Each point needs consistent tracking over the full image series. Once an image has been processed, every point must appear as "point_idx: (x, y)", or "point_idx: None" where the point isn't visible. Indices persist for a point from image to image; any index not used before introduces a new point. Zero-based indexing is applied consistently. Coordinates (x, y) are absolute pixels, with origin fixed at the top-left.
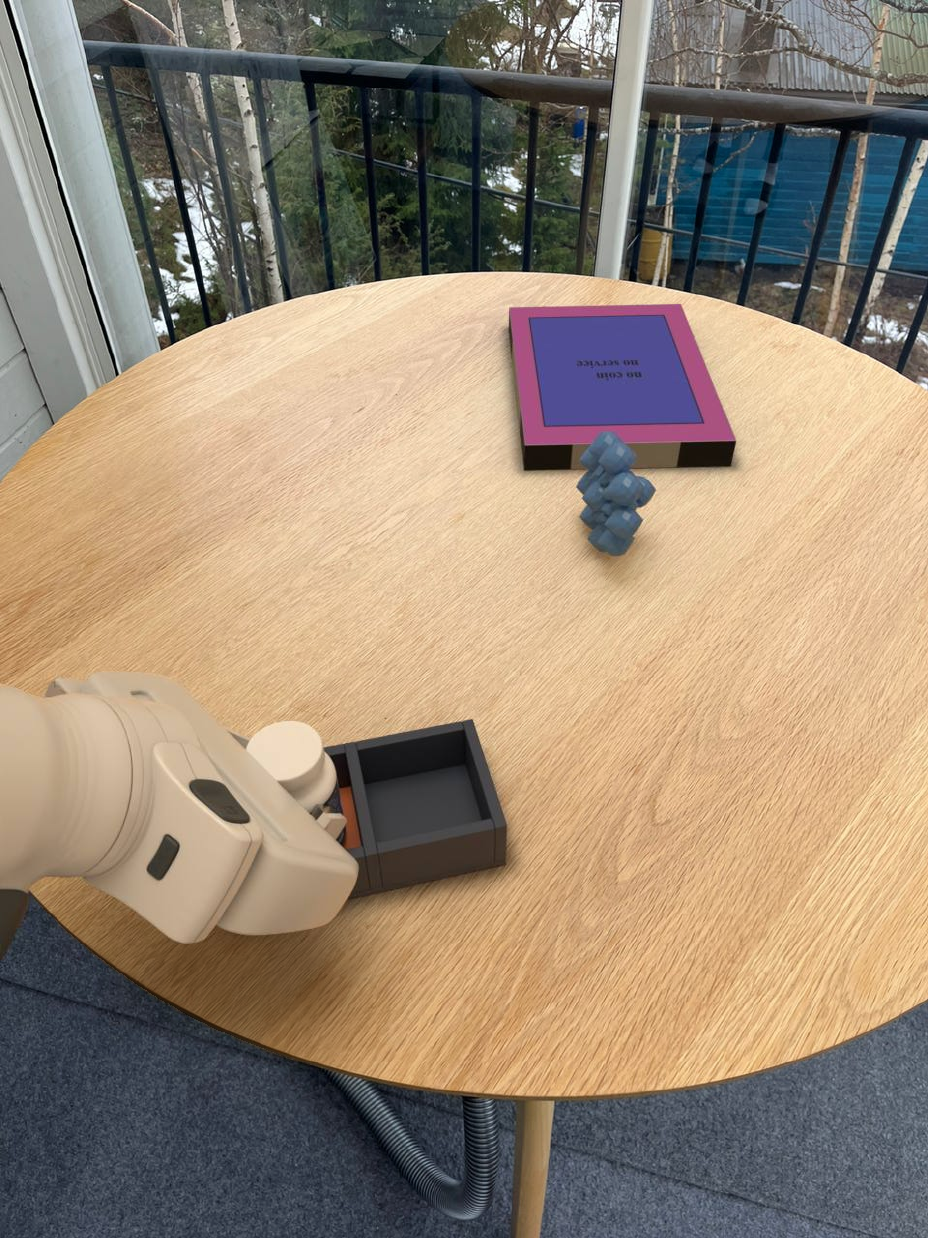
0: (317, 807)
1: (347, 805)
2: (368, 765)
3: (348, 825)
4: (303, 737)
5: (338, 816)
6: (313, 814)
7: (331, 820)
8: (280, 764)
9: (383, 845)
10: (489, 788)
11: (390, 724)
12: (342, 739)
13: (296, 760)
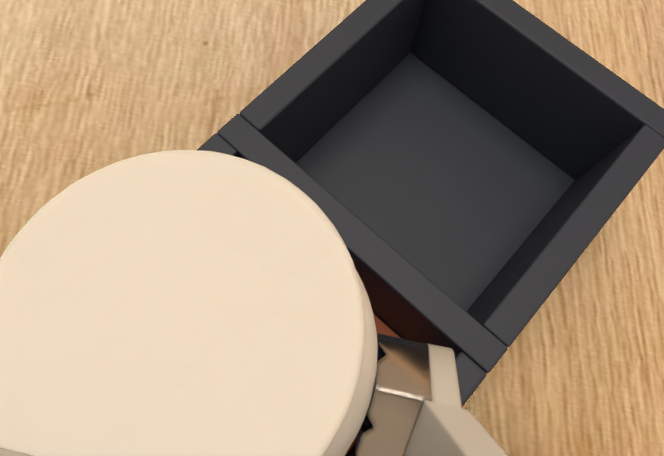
0: (384, 393)
1: None
2: (279, 148)
3: None
4: (211, 215)
5: (447, 368)
6: (380, 417)
7: (473, 415)
8: (217, 410)
9: (502, 319)
10: (585, 65)
11: (222, 49)
12: (158, 121)
13: (273, 342)
